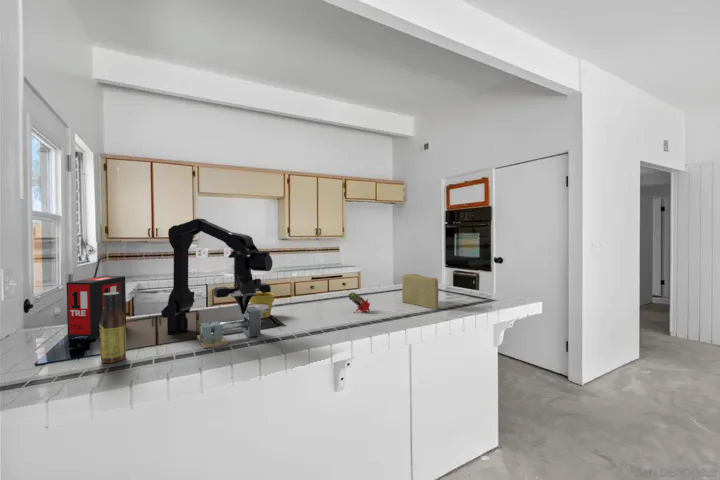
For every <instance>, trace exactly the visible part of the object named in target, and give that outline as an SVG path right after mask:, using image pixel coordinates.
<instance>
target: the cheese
mask: <svg viewBox="0 0 720 480" xmlns="http://www.w3.org/2000/svg"><path fill="white" fill-rule="evenodd" d="M401 287H402V289H401V292H402V293H401V297H402V298H401V299H402V301H401V302H402V303H405V304H410V305H413V306H418V307H423V308H425V309H431V310H439V279H438V278H437V277H432V276H431V277H429V276H425V275H424V276H423V275H419V274H416V273H410V274H403V275H402V283H401Z"/></svg>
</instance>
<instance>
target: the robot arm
mask: <svg viewBox="0 0 720 480" xmlns="http://www.w3.org/2000/svg"><path fill="white" fill-rule="evenodd" d="M167 231H168V233H167V234H168V236H167V237H168V241H169V243H170V245H171V247H172V250H173V273H172V275H173V279H172V280H173V282H172V283H173V287H172V290H171V292H170V294H169V296H168V300H167V305H166V306H165V307H164V308H163V309H162V310H161V312H160V314H161V317H162V318H166V329H165V332H166V334H167V335H173V334H175V335H176V334H181V333H186V332H188V329H189V318H188V317H187V314H189V313H190V312H191V308H192V307H193V305H194V303H196V301H195V291H191V289H190V288H189V249H190V247H191V246H192V244H193V240H194V236H196V235H198V234H200V233H203V234H205V235H208V236H211V237H212V238H215V239H217V240H220V241H222V242H224V243H225V245H226V246H227V247H228V248H230V249H231V250H233V251H232V252H231V253H230V254H229V255H228V259H233V264H234V265H233V266H234V267H233V276H234V277H233V282H234V283H233V287H231V288H229V287H227V286H218V287H217V286H216V287H214V288H213V296H214V297H215V298H227V297H228V296H229V295H230V297H231V298H234V299H235V301H236V303H237V306H238V308H239V311H240V313H241V314H242V315H243V314H245V311H246V308H247V305H248V306H249V304H250V299H251V298H252V297H253V296H255V294H254V293H257V292H260V293H272V292H271V291H272V289H271V288H272V287H271V285H270V284H268V283H266V282H263V283H262V280H261V278H253V274H252V271H254V272H270V271H271V270H272V268H273V262H274V261H273V259H272V256H271V255H270V251H259V249H258V247H257V246H256V245H255V243H254V240H253V238H252V237H251V235H249V234H244V233H239V232H233V231H230V230H228V229H226V228H223V227H221V226H219V225H218V224H217V225H216V224H215V223H212V222H210V221H208V220H207V219H205V218H193V219H192V220H188V221H186V222H183V223H180V224H178V225H176V224H175V225H172V226H170V228H168V230H167Z"/></svg>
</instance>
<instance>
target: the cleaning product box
mask: <svg viewBox="0 0 720 480" xmlns="http://www.w3.org/2000/svg"><path fill="white" fill-rule="evenodd" d="M65 285H66V317H67V318H66V319H67V340H68V341H71V340H70V339H72V338H75V337H78V336H88V337H91V338H97V339H99V338H98V337H100V332H99V321H100V318H101V315H102V312H103V310H104V300H103V294H104V293H110V292H119V293H120V298H119V305H120V307H119V308H120V309H121V311H122V312H123V313H124V315H125V328H127V314H126V313H127V311H126V310H127V309H126V308H127V305H126V304H127V303H126V302H127V301H126V300H127V298H126V297H127V295H126V294H127V293H126V276H125V275H121V276H120V275H118V276H117V275H101V276H97V277H91V278H90V277H89V278H85V279H80V280H73V281H67V282H66V283H65Z"/></svg>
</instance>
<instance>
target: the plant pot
mask: <svg viewBox="0 0 720 480" xmlns="http://www.w3.org/2000/svg"><path fill="white" fill-rule="evenodd" d="M254 294H255V296H253V297H252V298H251V299H250V301H249V304H250V305H255V304H264V305H267V306H269V310H268V311H267V312H264V313H263V318H262V319H266V318H269V317H271V311H272V307H273V303H275V294H274V293H273V292H269V293H262V292H255V293H254Z"/></svg>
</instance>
